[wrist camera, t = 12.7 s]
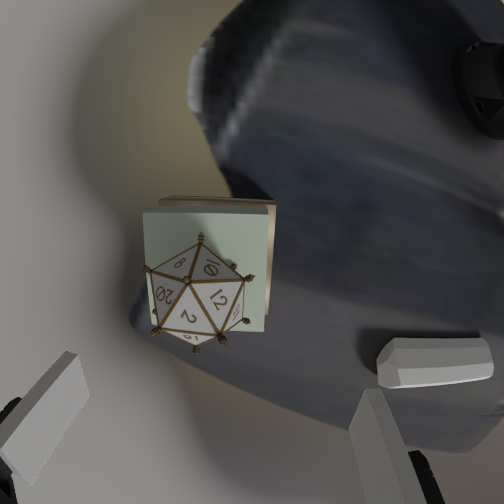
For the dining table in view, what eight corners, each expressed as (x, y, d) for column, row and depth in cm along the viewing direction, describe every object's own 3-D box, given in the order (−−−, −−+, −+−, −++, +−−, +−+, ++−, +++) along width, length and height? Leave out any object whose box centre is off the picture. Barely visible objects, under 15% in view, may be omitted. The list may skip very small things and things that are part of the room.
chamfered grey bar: (503, 336, 34) (393, 337, 34) (498, 378, 32) (386, 391, 32) (476, 338, 41) (370, 336, 41) (472, 375, 40) (364, 382, 39)
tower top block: (160, 205, 30) (142, 212, 25) (267, 207, 29) (268, 214, 25) (166, 303, 33) (152, 324, 28) (263, 308, 32) (263, 331, 28)
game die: (200, 279, 30) (126, 337, 24) (196, 204, 25) (99, 261, 18) (275, 320, 27) (203, 400, 20) (288, 243, 21) (191, 331, 15)
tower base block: (172, 195, 34) (159, 200, 30) (274, 200, 34) (276, 205, 29) (174, 289, 38) (162, 305, 33) (267, 296, 37) (267, 314, 33)
